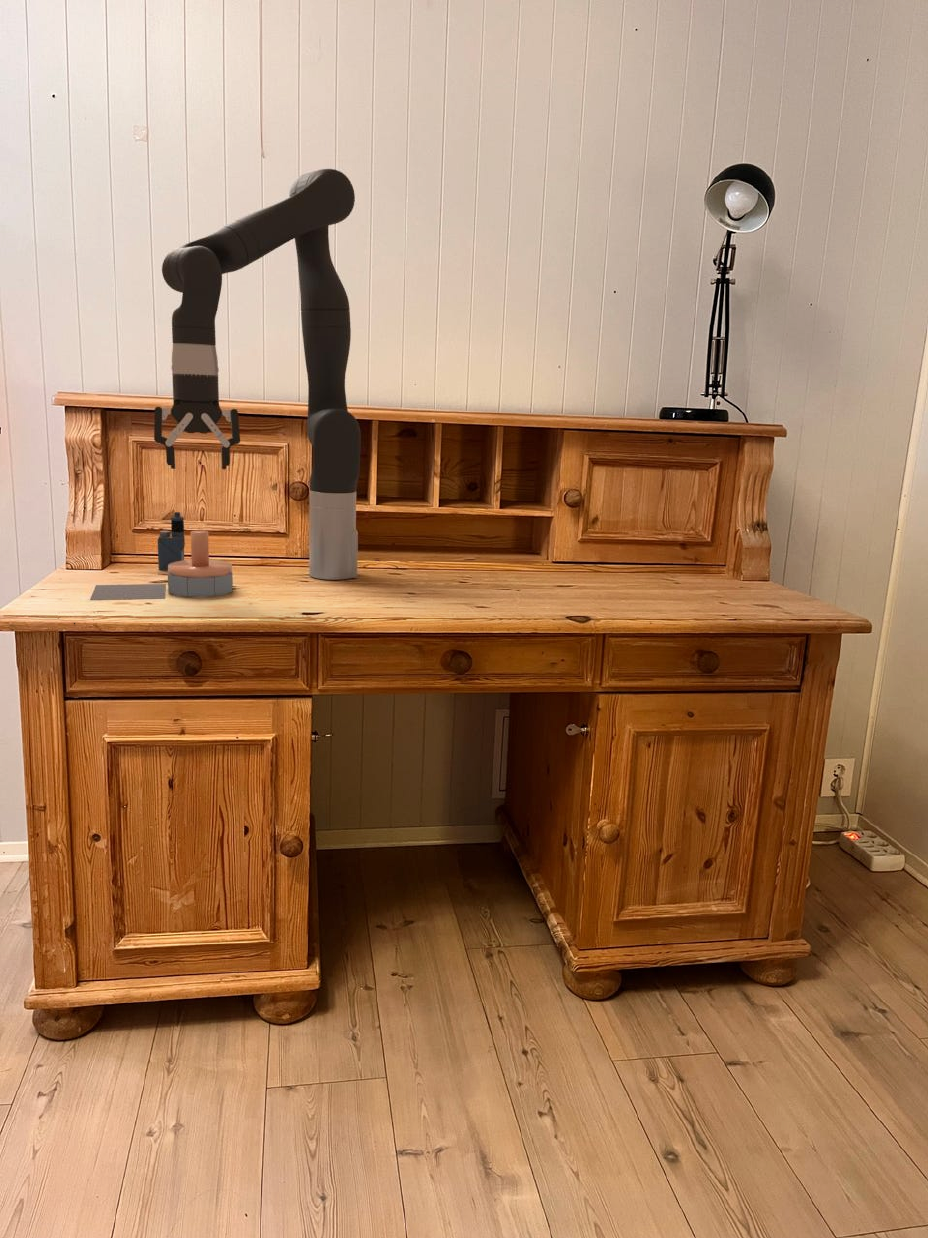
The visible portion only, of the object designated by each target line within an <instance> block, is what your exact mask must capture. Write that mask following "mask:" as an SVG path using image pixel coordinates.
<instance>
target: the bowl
mask: <svg viewBox="0 0 928 1238" xmlns="http://www.w3.org/2000/svg"><path fill="white" fill-rule="evenodd" d="M233 579H234V577H233V572H232V573H231V574H228V575H225V576H220V577H211V578H187V577H178V576H174V575H171V574H169V573H168V572H167V592H168V594H171V595H173V596H177V597H185V598H213V597H215V598H216V597H221V596H225V595H228V594H231V593H232V592H233V591H234V590H233V589H234V587H233V585H234V584H233V582H234V580H233Z"/></svg>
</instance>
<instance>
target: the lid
mask: <svg viewBox="0 0 928 1238" xmlns="http://www.w3.org/2000/svg"><path fill="white" fill-rule="evenodd" d="M209 545H210V544H209V531H206V530H191V531H190V555H191V556H190V557H191V559H184V561H177V562H173V563H170V564H169V565H168V571H167V574H168V573H169V574H171V575H174V576H178V577H187V578H211V577H220V576H225V575H228V574H231V573H232V574H233V564H232V563H230V562H228V561H225V560H224V561H223V560H217V559H210V551H209V550H210V546H209Z"/></svg>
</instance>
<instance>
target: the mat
mask: <svg viewBox="0 0 928 1238" xmlns="http://www.w3.org/2000/svg"><path fill="white" fill-rule="evenodd" d="M166 587H167V584H166V583H149V584H147V583H144V584H143V583H141V584H139V583H138V584H136V583H135V584H95V586H94V589H93V592H92V593H91V596H90V598H89V601H120V600H123V601H124V600H125V601H127V600H128V601H129V600H164V599H166V589H167V588H166Z"/></svg>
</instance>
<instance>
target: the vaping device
mask: <svg viewBox="0 0 928 1238" xmlns="http://www.w3.org/2000/svg"><path fill="white" fill-rule="evenodd" d="M173 514H174V516H171V517H170V521H171V522H170V523H171V526H170V527H171V531H170V530H160V531H159V535H158V538H157V558H158V559H157V561H158V563H157V564H158V566H157V567H158V570H159V571H167V572H168V565H169V564H170V563H173V562H177V561H184V560H185V546H186V542H185V540H186V539H185V521H184V520H185V518H184V517H183V516H181V512H180V511H178V512H177V511H175V512H174V513H173Z"/></svg>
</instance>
